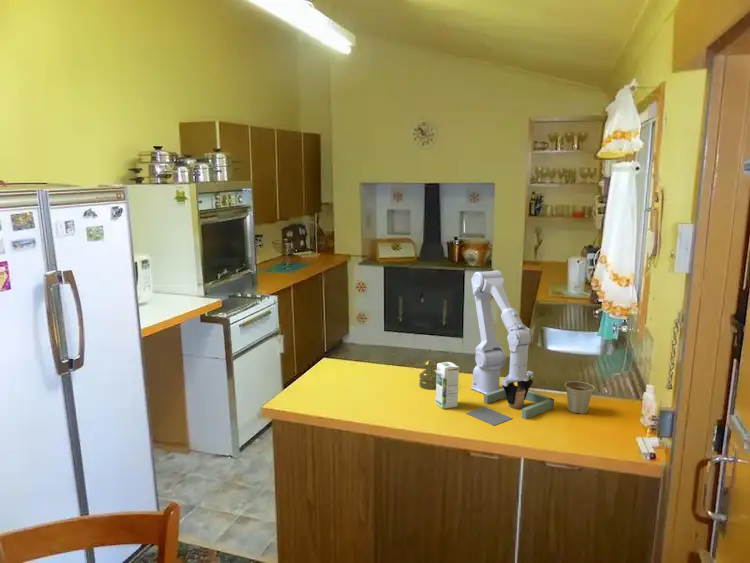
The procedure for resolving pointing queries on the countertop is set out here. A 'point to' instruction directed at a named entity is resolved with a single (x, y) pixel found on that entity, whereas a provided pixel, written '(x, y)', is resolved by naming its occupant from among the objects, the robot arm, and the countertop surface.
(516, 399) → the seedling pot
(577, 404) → the flower pot
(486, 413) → the rubber mat
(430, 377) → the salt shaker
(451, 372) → the syrup box
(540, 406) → the green u-shaped frame
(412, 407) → the countertop surface
